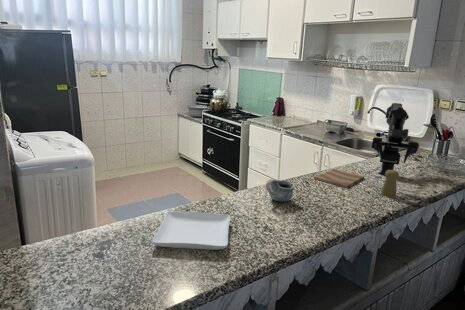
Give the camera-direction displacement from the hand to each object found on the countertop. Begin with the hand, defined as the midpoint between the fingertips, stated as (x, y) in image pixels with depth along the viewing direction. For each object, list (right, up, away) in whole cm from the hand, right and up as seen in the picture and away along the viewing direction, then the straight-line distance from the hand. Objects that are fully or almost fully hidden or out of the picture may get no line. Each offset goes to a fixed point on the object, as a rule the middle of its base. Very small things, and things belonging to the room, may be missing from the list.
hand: (392, 161), depth 150 cm
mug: (-52, -16, -16) cm, 57 cm away
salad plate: (-82, -22, -45) cm, 96 cm away
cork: (-3, -15, -3) cm, 15 cm away
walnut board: (-19, -9, +15) cm, 25 cm away
